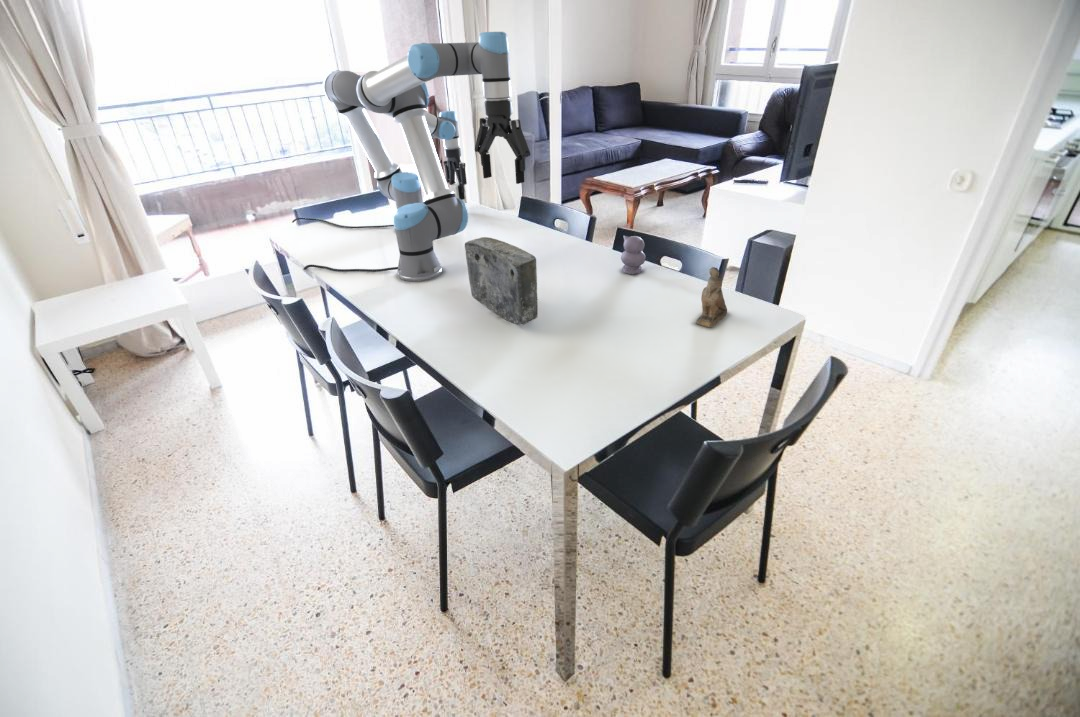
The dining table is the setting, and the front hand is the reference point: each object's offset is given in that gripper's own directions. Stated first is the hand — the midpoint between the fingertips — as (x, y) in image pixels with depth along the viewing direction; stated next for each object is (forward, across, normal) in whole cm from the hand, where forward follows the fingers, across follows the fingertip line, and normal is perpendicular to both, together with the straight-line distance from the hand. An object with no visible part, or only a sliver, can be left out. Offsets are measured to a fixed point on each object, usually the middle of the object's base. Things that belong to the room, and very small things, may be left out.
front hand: (503, 180), depth 147 cm
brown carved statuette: (+34, -62, -17) cm, 73 cm away
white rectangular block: (+30, +86, -53) cm, 106 cm away
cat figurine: (+34, -25, -35) cm, 54 cm away
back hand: (+28, +86, -53) cm, 105 cm away
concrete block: (+34, -14, +16) cm, 40 cm away
